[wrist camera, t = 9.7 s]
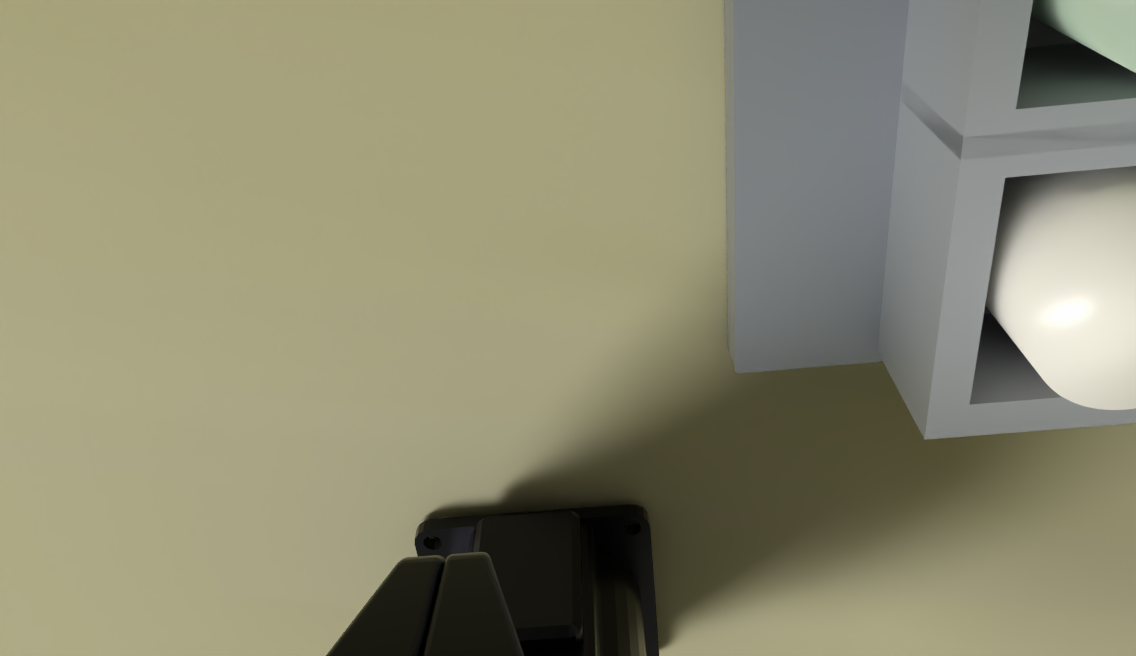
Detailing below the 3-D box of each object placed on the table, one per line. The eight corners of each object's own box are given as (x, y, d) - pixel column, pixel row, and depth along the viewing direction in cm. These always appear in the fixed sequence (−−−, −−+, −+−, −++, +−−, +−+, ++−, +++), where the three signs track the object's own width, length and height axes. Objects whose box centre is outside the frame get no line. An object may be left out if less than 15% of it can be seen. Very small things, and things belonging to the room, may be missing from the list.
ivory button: (1124, 294, 20) (1237, 401, 17) (940, 310, 21) (1015, 418, 17) (1167, 119, 18) (1305, 200, 15) (962, 138, 18) (1052, 222, 15)
